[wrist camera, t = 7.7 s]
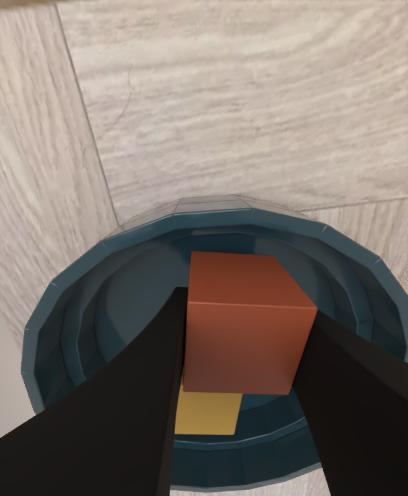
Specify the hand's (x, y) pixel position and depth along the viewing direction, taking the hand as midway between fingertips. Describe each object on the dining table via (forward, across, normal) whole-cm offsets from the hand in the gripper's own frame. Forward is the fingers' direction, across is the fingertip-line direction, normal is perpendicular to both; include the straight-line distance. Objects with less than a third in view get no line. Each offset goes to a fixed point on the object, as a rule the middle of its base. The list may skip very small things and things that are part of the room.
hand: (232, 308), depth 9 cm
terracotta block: (+1, 0, 0) cm, 1 cm away
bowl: (+4, 0, +5) cm, 6 cm away
